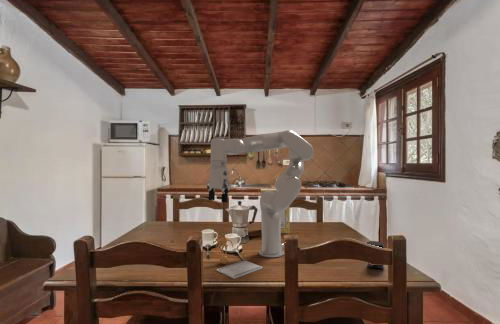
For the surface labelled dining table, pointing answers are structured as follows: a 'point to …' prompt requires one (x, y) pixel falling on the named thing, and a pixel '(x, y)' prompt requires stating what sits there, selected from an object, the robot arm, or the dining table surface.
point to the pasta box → (281, 216)
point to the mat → (239, 269)
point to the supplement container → (379, 246)
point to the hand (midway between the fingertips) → (217, 201)
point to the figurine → (224, 258)
